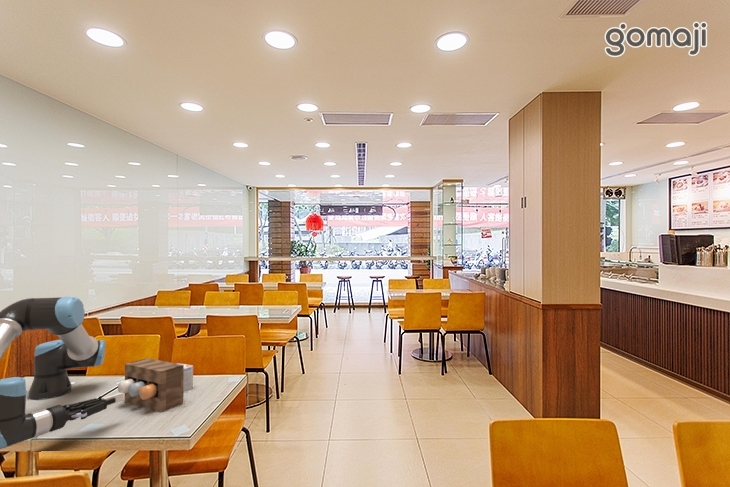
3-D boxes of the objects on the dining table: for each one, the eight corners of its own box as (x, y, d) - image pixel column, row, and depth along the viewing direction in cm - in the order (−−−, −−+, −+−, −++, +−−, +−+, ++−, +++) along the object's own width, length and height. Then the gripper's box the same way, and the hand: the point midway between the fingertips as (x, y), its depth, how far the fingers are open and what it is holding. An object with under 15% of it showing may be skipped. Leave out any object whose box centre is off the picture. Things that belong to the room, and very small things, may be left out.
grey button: (128, 395, 156) (128, 383, 156) (147, 389, 163) (147, 377, 163) (135, 397, 154) (136, 385, 154) (155, 391, 161) (155, 379, 161)
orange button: (139, 398, 153) (139, 385, 153) (158, 392, 160) (158, 379, 160) (147, 400, 151) (147, 387, 151) (166, 393, 158) (166, 381, 158)
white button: (117, 393, 159) (117, 380, 159) (137, 386, 167) (137, 375, 167) (125, 395, 157) (125, 382, 157) (144, 388, 164) (144, 376, 164)
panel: (124, 401, 164) (124, 363, 164) (147, 394, 173) (147, 358, 173) (161, 412, 153) (161, 371, 153) (183, 403, 162) (183, 365, 162)
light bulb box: (164, 390, 178) (164, 366, 179) (176, 385, 185) (177, 362, 185) (181, 393, 174) (181, 369, 175) (193, 388, 181) (193, 365, 181)
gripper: (36, 428, 126) (111, 403, 147) (57, 436, 120) (132, 409, 141) (37, 405, 126) (111, 383, 147) (58, 412, 121) (133, 389, 142)
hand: (122, 396), depth 144 cm, fingers closed
